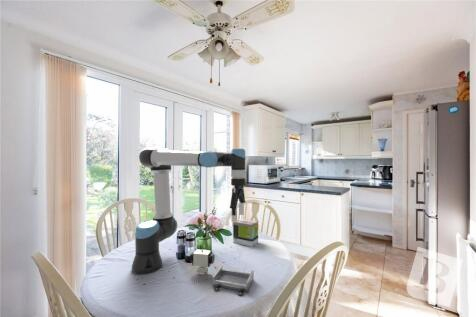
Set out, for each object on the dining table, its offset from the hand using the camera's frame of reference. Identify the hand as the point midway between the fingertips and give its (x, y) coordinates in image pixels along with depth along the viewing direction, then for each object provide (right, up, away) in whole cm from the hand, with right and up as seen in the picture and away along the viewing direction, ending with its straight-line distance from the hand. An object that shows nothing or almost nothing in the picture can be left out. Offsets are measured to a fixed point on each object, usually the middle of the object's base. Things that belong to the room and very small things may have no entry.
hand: (238, 217), depth 115 cm
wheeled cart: (-2, -27, -15) cm, 31 cm away
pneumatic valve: (-18, -27, -4) cm, 33 cm away
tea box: (+5, -27, +36) cm, 45 cm away
